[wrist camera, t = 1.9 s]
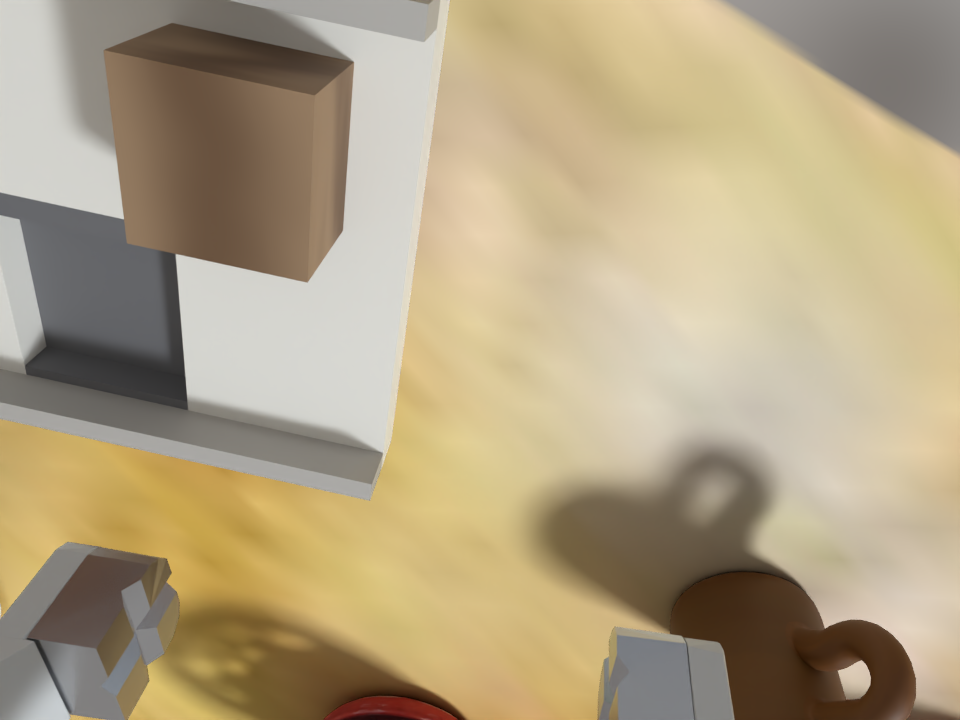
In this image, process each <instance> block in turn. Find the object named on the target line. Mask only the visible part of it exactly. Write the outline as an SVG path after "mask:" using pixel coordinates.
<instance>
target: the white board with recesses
mask: <svg viewBox="0 0 960 720" xmlns="http://www.w3.org/2000/svg"><path fill="white" fill-rule="evenodd" d="M449 4H450V0H0V419H4V420H8V421H13V422H17V423H22V424H26V425H31V426H35V427H40V428H44V429H49V430H53V431H58V432H62V433H67V434H71V435H76V436H80V437H85V438H89V439H94V440H98V441H103V442H107V443H112V444H116V445H121V446H126V447H130V448H135V449H139V450H144V451H148V452H153V453H157V454H162V455H166V456H171V457H175V458H180V459H184V460H189V461H193V462H198V463H202V464H207V465H211V466H216V467H220V468H225V469H229V470H234V471H238V472H243V473H247V474H252V475H256V476H261V477H265V478H270V479H274V480H279V481H284V482H288V483H293V484H297V485H302V486H306V487H311V488H315V489H320V490H324V491H329V492H333V493H338V494H342V495H347V496H351V497H356V498H360V499H365V500H369V501H370V499H371V496H372V493H373V491H374V488H375V485H376V482H377V479H378V477H379V474H380V471H381V468H382V465H383V462H384V460H385V457H386V454H387V451H388V448H389V446H390V443H391V439H392V431H393V424H394V416H395V409H396V401H397V394H398V386H399V379H400V371H401V364H402V356H403V349H404V341H405V334H406V326H407V319H408V311H409V304H410V296H411V289H412V281H413V274H414V266H415V259H416V251H417V244H418V236H419V229H420V221H421V214H422V206H423V199H424V191H425V184H426V176H427V169H428V161H429V154H430V146H431V139H432V131H433V124H434V116H435V109H436V101H437V94H438V86H439V79H440V71H441V64H442V56H443V49H444V41H445V34H446V26H447V19H448V12H449ZM170 23H175V24H180V25H184V26H189V27H194V28H198V29H203V30H208V31H212V32H217V33H222V34H226V35H231V36H236V37H240V38H245V39H250V40H254V41H259V42H264V43H268V44H273V45H278V46H282V47H287V48H292V49H296V50H301V51H306V52H310V53H315V54H320V55H324V56H329V57H334V58H338V59H343V60H348V61H352V62H354V73H353V88H352V103H351V118H350V133H349V148H348V163H347V178H346V192H345V207H344V222H343V231H342V233H341V234H340V236H339V237H338V239H337V240H336V242H335V243H334V245H333V246H332V248H331V249H330V251H329V252H328V253H327V255H326V256H325V258H324V259H323V261H322V262H321V264H320V265H319V267H318V268H317V270H316V271H315V273H314V274H313V276H312V277H311V278H310V280H309V281H308V283H307V282H302V281H297V280H293V279H288V278H284V277H279V276H274V275H270V274H265V273H261V272H256V271H252V270H247V269H242V268H238V267H233V266H229V265H224V264H219V263H215V262H210V261H206V260H201V259H197V258H192V257H187V256H183V255H178V254H174V253H169V252H164V251H160V250H155V249H151V248H146V247H141V246H137V245H132V244H128V243H127V239H126V231H125V223H124V215H123V207H122V199H121V190H120V182H119V174H118V166H117V158H116V150H115V141H114V133H113V125H112V117H111V109H110V100H109V92H108V84H107V76H106V68H105V60H104V51H103V50H105V49H107V48H110V47H112V46H115V45H117V44H120V43H122V42H125V41H128V40H130V39H133V38H135V37H138V36H140V35H143V34H145V33H148V32H150V31H153V30H155V29H158V28H160V27H163V26H165V25H168V24H170Z"/></svg>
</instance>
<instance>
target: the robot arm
mask: <svg viewBox="0 0 960 720" xmlns="http://www.w3.org/2000/svg"><path fill="white" fill-rule="evenodd" d="M170 575H171V570H170V567H169V564H168V561H167V559H166V558H160V557H154V556H148V555H142V554H137V553H131V552H125V551H119V550H113V549H107V548H102V547H97V546H91V545H85V544H78V543H72V542H67V543H65V544H64V545H62V546H61V547H59V548H58V549H56V550H55V551H54V552H53V554H52V555H51V556H50V558H49V559H48V560H47V561H46V563H45V564H44V565H43V566H42V568H41V569H40V570H39V571H38V573H37V574H36V575H35V576H34V578H33V579H32V580H31V581H30V583H29V584H28V585H27V586H26V588H25V589H24V590H23V591H22V593H21V594H20V595H19V596H18V598H17V599H16V600H15V602H14V603H13V604H12V605H11V607H10V608H9V609H8V610H7V612H6V613H5V614H4V615H3V617H2V618H1V605H0V618H1V619H0V720H69V719H70V715H69V714H71V715H78V716H85V717H92V718H99V719H106V720H128V718H129V716H130V715H131V713H132V711H133V709H134V707H135V706H136V704H137V702H138V700H139V698H140V697H141V695H142V693H143V691H144V689H145V688H146V686H147V684H148V682H149V675H148V668H147V665H148V664H150V663H151V662H153V661H154V660H156V659H157V658H158V657H160V656H161V655H163V654H164V653H165V651H166V649H167V648H168V646H169V644H170V642H171V640H172V638H173V636H174V633H175V629H176V626H177V622H178V619H179V606H180V602H179V598H178V594H177V592H176V591H175V590H174V589H173V588H172V587H171V586H170V585H169V584H168V583H167V582H166V581H167V580H168V578H169V576H170ZM597 720H735V719H734V713H733V706H732V700H731V693H730V687H729V680H728V674H727V668H726V661H725V655H724V650H723V648H722V646H721V645H720V643H718V642H714V641H706V640H699V639H691V638H683V637H682V636H679V635H672V634H664V633H657V632H650V631H643V630H635V629H628V628H621V627H614V628H613V630H612V632H611V636H610V639H609V657H608V658H606V659H604V662H603V667H602V671H601V677H600V684H599V692H598V717H597Z"/></svg>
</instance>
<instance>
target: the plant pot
mask: <svg viewBox="0 0 960 720" xmlns="http://www.w3.org/2000/svg"><path fill="white" fill-rule="evenodd" d="M324 720H458V719H457V718H455V717H454V716H452V715H451V714H449V713H447V712H446V711H444V710H442V709H439V708H437V707H435V706H432V705H430V704H427V703H424V702H421V701H417V700H413V699H409V698H405V697H397V696H372V697H365V698H360V699H357V700H354V701H351V702H348V703H346V704H344V705H342V706H340V707H338V708H337V709H335V710H334V711H333V712H331V713H330V714H329V715H327V716H326V717H325V718H324Z"/></svg>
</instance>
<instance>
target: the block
mask: <svg viewBox="0 0 960 720" xmlns="http://www.w3.org/2000/svg"><path fill="white" fill-rule="evenodd" d="M103 51H104V60H105V68H106V76H107V84H108V92H109V100H110V109H111V117H112V125H113V133H114V141H115V150H116V158H117V166H118V174H119V182H120V190H121V199H122V207H123V215H124V223H125V231H126V239H127V243H128V244H132V245H137V246H141V247H146V248H151V249H155V250H160V251H164V252H169V253H174V254H178V255H183V256H187V257H192V258H197V259H201V260H206V261H210V262H215V263H219V264H224V265H229V266H233V267H238V268H242V269H247V270H252V271H256V272H261V273H265V274H270V275H274V276H279V277H284V278H288V279H293V280H297V281H302V282H307V283H308V281H309V280H310V278H311V277H312V276H313V274H314V273H315V271H316V270H317V268H318V267H319V265H320V264H321V262H322V261H323V259H324V258H325V256H326V255H327V253H328V252H329V251H330V249H331V248H332V246H333V245H334V243H335V242H336V240H337V239H338V237H339V236H340V234H341V233H342V231H343V222H344V207H345V192H346V178H347V163H348V148H349V133H350V118H351V103H352V88H353V73H354V62H352V61H348V60H343V59H338V58H334V57H329V56H324V55H320V54H315V53H310V52H306V51H301V50H296V49H292V48H287V47H282V46H278V45H273V44H268V43H264V42H259V41H254V40H250V39H245V38H240V37H236V36H231V35H226V34H222V33H217V32H212V31H208V30H203V29H198V28H194V27H189V26H184V25H180V24H175V23H170V24H168V25H165V26H163V27H160V28H158V29H155V30H153V31H150V32H148V33H145V34H143V35H140V36H138V37H135V38H133V39H130V40H128V41H125V42H122V43H120V44H117V45H115V46H112V47H110V48H107V49H105V50H103Z"/></svg>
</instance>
